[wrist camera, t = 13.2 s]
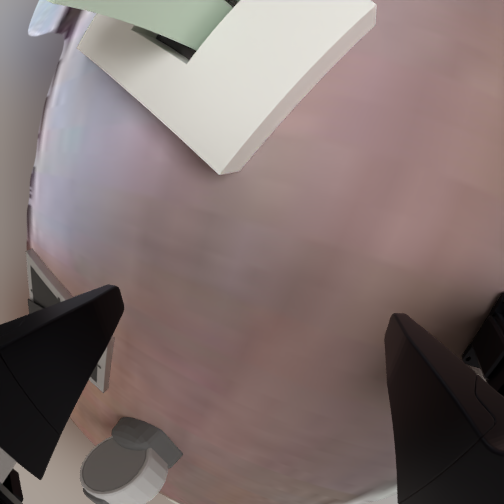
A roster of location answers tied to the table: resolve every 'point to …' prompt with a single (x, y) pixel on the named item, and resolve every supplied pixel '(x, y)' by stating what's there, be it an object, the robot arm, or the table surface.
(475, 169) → the table surface
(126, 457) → the alarm clock
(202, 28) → the pale green block
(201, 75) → the slotted board
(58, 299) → the picture frame
